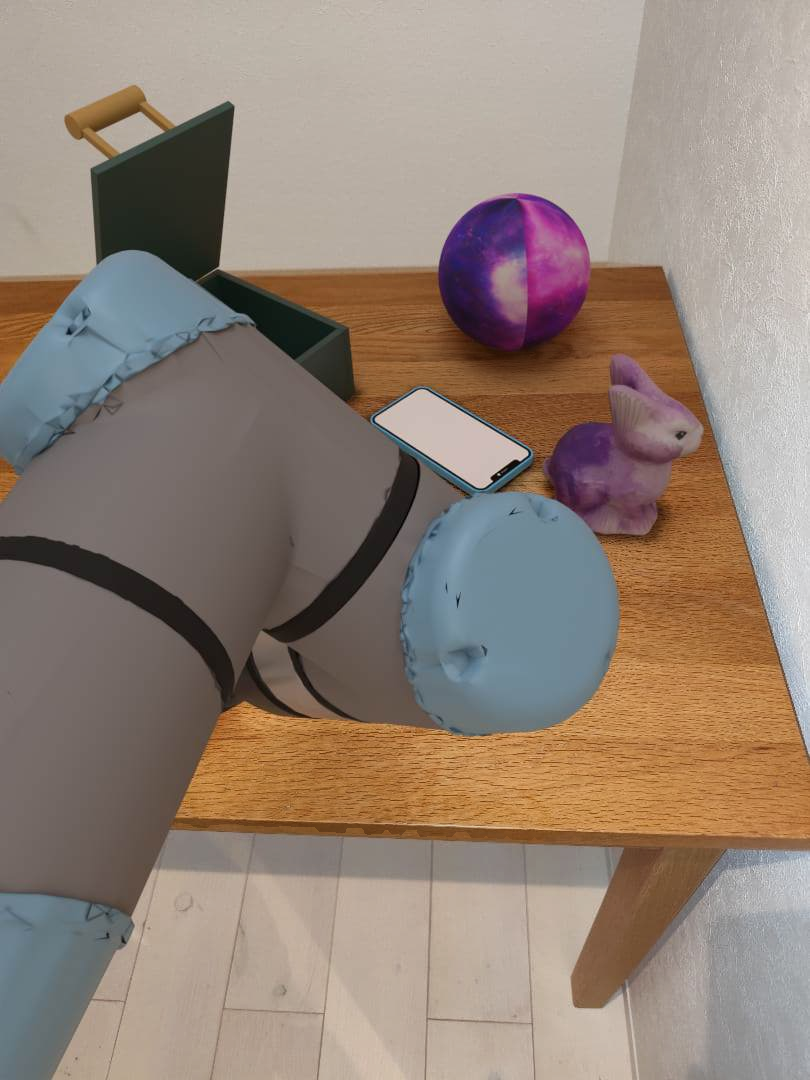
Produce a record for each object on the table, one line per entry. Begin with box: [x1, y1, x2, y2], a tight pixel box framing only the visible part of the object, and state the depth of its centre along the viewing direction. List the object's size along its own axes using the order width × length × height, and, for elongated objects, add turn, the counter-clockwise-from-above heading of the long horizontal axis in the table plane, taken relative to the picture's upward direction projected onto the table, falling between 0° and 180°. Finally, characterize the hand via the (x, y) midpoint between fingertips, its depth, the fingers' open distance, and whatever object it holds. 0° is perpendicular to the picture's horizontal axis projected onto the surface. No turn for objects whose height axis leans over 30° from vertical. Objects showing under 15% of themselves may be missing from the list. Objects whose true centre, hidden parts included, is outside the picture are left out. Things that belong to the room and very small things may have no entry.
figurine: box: [541, 353, 705, 536], centre depth 72 cm, size 9×10×15 cm
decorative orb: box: [437, 192, 592, 352], centre depth 89 cm, size 15×15×15 cm
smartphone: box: [370, 386, 534, 495], centre depth 83 cm, size 8×1×15 cm
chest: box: [195, 268, 356, 402], centre depth 86 cm, size 18×15×8 cm
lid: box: [63, 84, 236, 282], centre depth 79 cm, size 19×15×8 cm
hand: (183, 648), depth 58 cm, fingers open, 13 cm apart
